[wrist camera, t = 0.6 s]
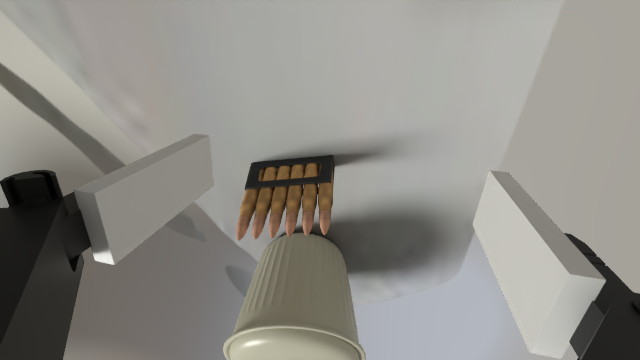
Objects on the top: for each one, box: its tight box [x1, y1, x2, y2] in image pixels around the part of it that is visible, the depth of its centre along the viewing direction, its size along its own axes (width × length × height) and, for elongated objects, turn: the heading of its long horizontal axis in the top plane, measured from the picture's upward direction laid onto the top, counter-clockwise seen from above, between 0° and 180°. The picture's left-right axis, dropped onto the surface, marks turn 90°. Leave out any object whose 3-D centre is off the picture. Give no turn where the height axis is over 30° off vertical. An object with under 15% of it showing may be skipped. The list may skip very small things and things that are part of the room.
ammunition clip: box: [237, 155, 335, 240], centre depth 35 cm, size 11×2×12 cm, turn 98°
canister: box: [223, 232, 366, 360], centre depth 44 cm, size 18×18×21 cm
